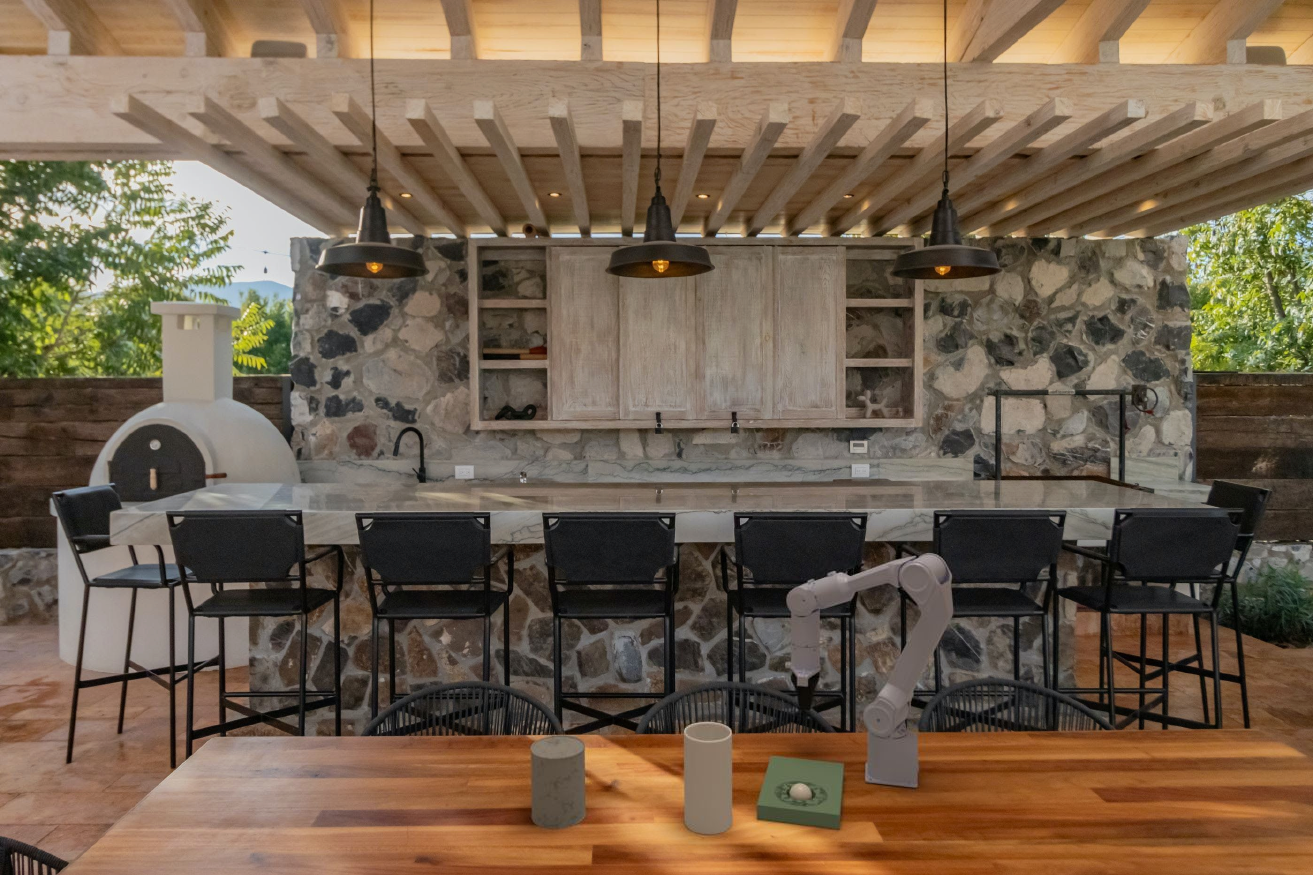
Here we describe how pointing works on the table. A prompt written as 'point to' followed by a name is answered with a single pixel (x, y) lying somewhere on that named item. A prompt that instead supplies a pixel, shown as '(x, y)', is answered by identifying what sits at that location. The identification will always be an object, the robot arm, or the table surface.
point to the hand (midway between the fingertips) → (805, 708)
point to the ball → (800, 792)
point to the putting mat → (821, 782)
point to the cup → (708, 777)
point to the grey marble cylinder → (558, 781)
